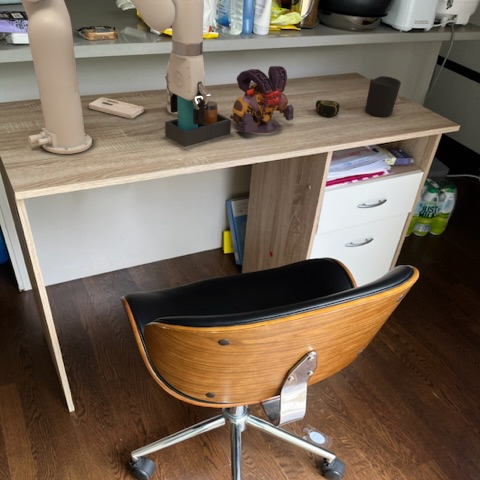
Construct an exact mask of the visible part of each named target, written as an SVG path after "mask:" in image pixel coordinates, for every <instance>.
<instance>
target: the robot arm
mask: <svg viewBox="0 0 480 480" xmlns="http://www.w3.org/2000/svg"><path fill="white" fill-rule="evenodd" d="M20 2H21V4H22V6H23V9H24V12H25V14H26V16H27V25H26V26H27V27H26V28H27V29H26V30H27V39H28V44H29V49H30V53H31V58H32V62H33V68H34V72H35V80H36V84H37V89H38V94H39V99H40V100H39V101H40V105H41V111H42V118H43V123H44V126H43V127H41V131H40V132H38V133H37V134H31V135H27V140H28V142H29V144H30V145H33V144H38V145H39V146H41V147H42V148H43V149H44V150H46V151H47V152H50V153H53V154H60V155H71V154H72V155H73V154H78V153H82V152H85V151H87V150H88V149H90V148H91V147H92V145H93V139H92V137H91V136H90V135H89V134H87V133H85V132H86V131H85V124H84V115H83V108H82V101H81V93H80V86H79V85H80V84H79V79H78V70H77V63H76V53H75V46H74V45H75V44H74V36H73V26H72V21H71V16H70V13H69V9H68V8H67V5H66V2H65V0H20ZM130 3H132V5H133V7H134V8H135V9H136V11H137V12H138V14H139V15H140V17H141V19H142V20H143V22H144V23H145V24H146V25H147V27H149V28H150V29H152V30H153V31H156V32H163V31H167V30H169V28H171V45H172V46H171V51H170V54H169V59H168V62H169V72H168V75H167V74H166V75H165V76H164V78H165V81H166V89H167V88H168V90H169V96H170V103H171V112H172V113H171V114H173V113H174V112H178V96H180V97H182V98H184V99H186V100H189V101H190V100H192V101H193V104H194V106H195V109H193V124H195V125H196V124H200V123H203V122H204V108H206V105H207V104H208V101H210V99H211V97H212V96H211V93H210V92H209V90H208V89H207V88H206V73H205V71H206V70H205V63H204V62H205V60H204V56H203V55H204V54H203V51H204V13H205V11H204V10H205V9H204V8H205V0H130ZM196 95H198V96H196ZM197 100H198V102H197Z"/></svg>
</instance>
